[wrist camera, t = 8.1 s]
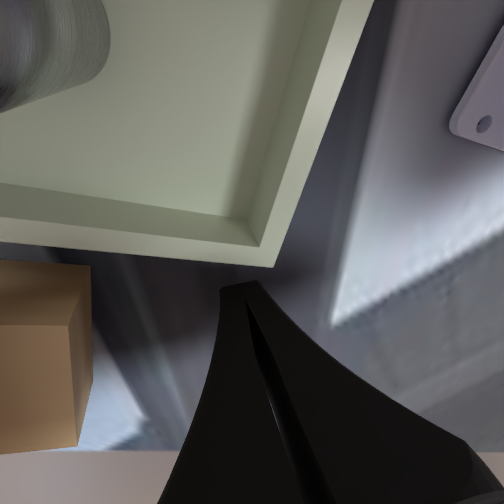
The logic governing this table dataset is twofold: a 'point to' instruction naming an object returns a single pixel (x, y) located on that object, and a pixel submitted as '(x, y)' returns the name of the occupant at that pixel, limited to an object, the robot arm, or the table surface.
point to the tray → (182, 131)
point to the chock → (44, 354)
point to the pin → (49, 47)
